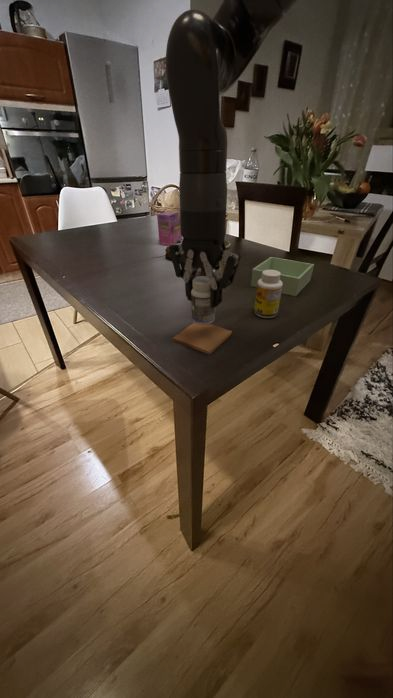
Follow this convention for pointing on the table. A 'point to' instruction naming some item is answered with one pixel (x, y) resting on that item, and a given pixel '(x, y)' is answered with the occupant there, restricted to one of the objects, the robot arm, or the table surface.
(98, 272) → the table surface
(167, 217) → the box
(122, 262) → the table surface
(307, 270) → the bin
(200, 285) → the pill bottle
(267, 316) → the supplement bottle
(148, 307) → the table surface
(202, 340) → the cork mat
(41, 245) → the table surface
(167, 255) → the pastry
